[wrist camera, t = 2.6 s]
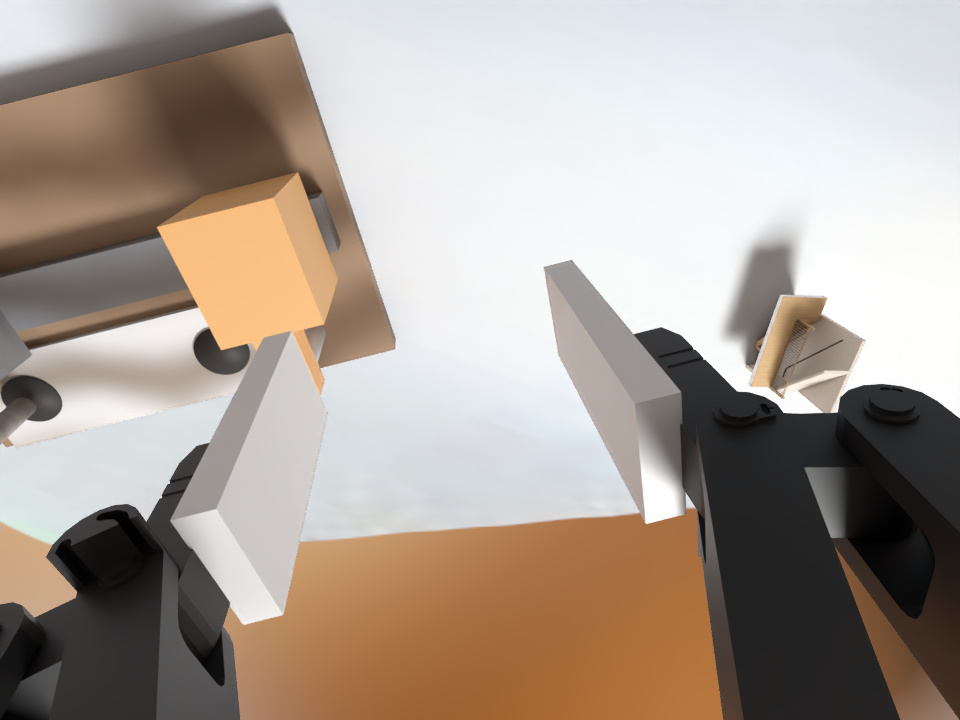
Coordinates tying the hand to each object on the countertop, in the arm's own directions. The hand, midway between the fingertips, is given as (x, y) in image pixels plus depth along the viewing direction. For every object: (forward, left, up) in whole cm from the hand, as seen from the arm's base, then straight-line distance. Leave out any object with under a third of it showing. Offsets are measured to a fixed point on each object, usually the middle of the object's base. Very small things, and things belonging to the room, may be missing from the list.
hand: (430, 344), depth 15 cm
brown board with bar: (0, -17, -20) cm, 26 cm away
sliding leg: (+2, -8, -17) cm, 19 cm away
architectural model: (+16, +22, -21) cm, 34 cm away
